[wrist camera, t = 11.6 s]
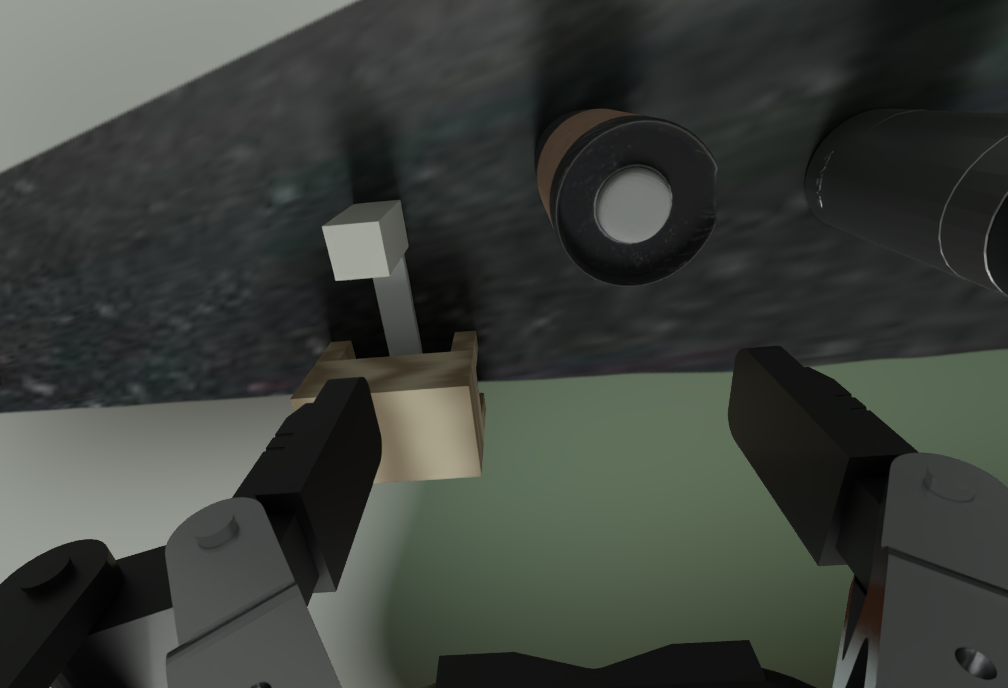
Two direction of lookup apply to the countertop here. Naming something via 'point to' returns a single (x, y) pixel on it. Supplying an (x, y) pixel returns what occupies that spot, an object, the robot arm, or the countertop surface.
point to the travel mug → (626, 193)
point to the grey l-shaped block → (377, 265)
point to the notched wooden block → (415, 407)
